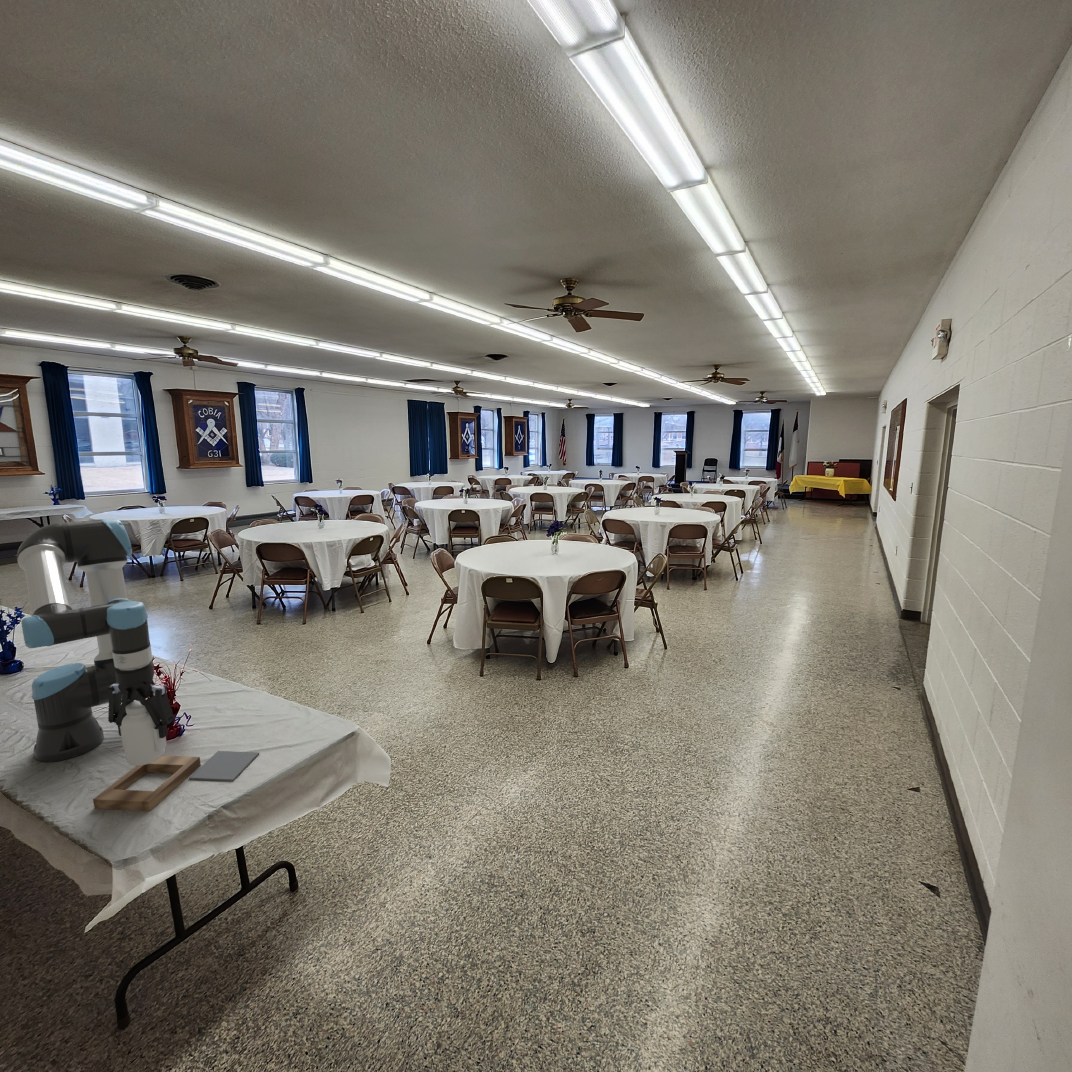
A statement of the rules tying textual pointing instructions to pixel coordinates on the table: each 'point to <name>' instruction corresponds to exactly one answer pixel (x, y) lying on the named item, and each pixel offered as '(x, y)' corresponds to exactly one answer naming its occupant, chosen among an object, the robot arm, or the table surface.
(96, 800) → the pocket board
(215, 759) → the mat
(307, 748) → the table surface
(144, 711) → the pill bottle
